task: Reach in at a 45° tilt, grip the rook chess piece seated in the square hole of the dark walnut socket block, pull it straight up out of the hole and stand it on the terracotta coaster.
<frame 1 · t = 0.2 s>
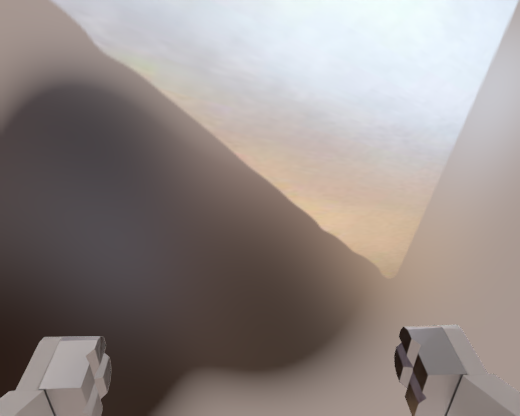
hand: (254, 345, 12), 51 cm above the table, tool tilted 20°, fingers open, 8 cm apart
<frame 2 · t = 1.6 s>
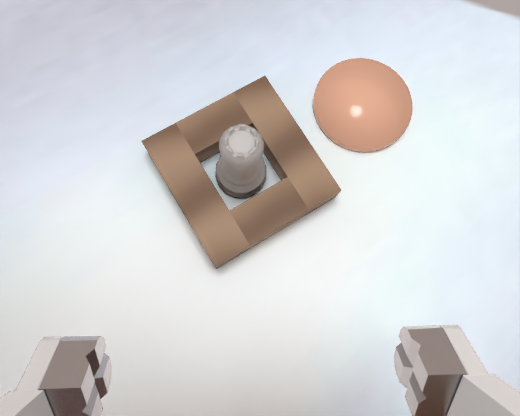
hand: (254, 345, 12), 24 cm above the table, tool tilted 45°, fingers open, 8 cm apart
rook chess piece: (241, 175, 38), resting in socket block
socket block: (241, 174, 38), on the table
coaster: (361, 106, 40), on the table
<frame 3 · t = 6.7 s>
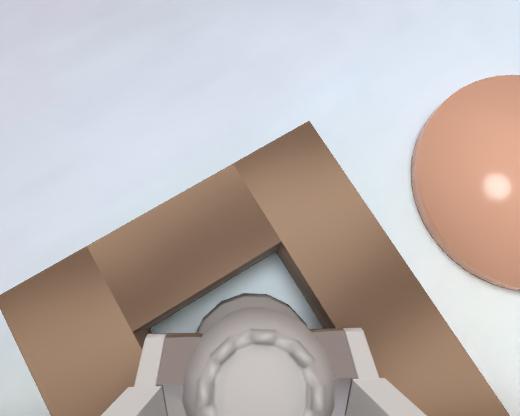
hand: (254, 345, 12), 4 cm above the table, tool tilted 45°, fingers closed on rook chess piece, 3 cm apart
rook chess piece: (252, 353, 16), resting in socket block, touching gripper
socket block: (252, 354, 16), on the table
coaster: (517, 182, 18), on the table
when the fingers open (6 cm above the table, at t = 13.1 s): rook chess piece stays where it is, resting on coaster.
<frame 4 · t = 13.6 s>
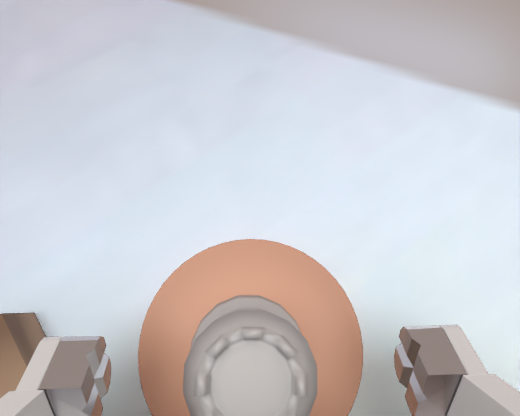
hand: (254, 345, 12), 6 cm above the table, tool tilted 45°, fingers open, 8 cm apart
rook chess piece: (247, 351, 17), point 1 cm above the table, touching coaster
coaster: (251, 348, 18), on the table
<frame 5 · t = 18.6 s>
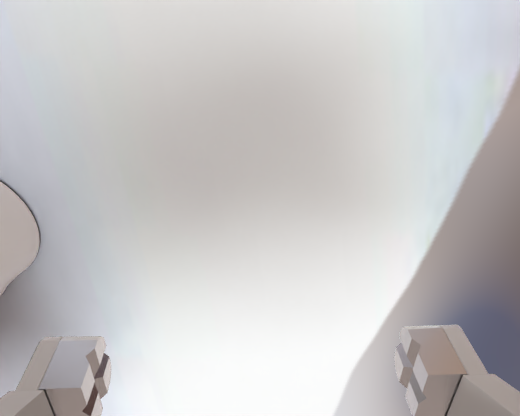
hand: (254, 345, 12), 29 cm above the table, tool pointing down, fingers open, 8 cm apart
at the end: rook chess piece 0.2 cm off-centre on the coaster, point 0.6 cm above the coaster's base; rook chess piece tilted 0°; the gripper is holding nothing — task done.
